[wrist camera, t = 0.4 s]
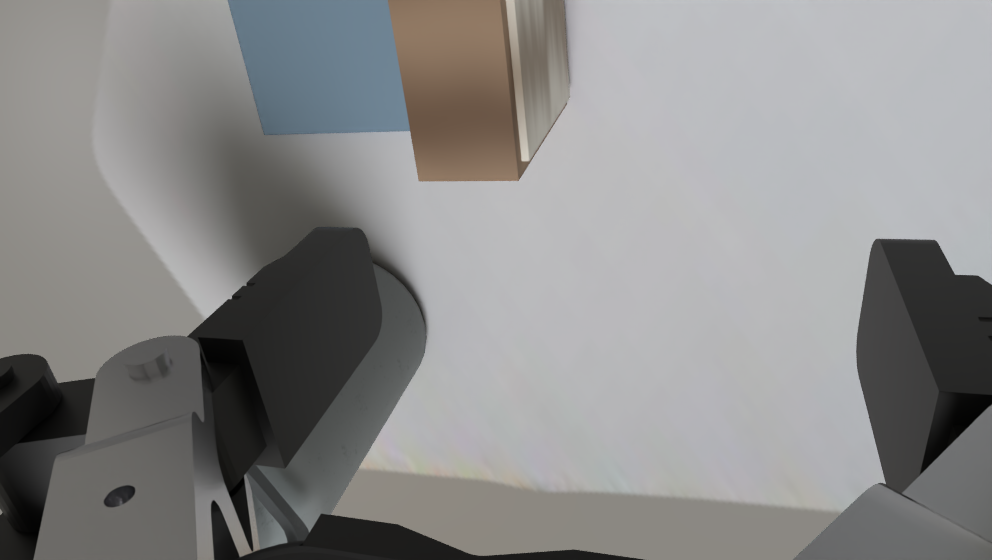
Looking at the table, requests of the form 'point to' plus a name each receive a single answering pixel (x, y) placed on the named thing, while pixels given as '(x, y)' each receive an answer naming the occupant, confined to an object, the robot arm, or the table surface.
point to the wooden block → (480, 83)
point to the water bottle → (342, 426)
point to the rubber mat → (321, 65)
